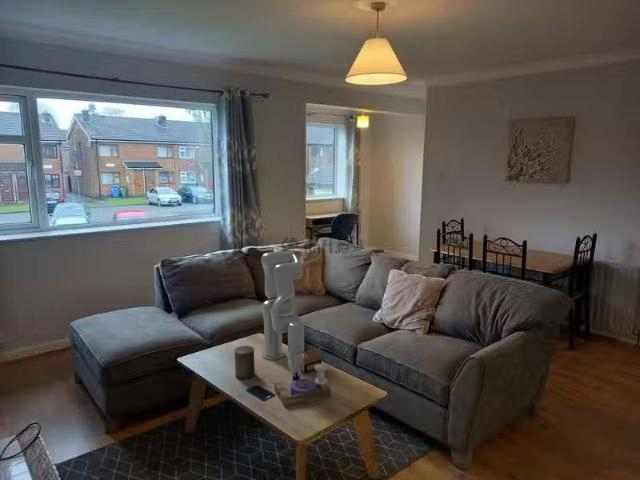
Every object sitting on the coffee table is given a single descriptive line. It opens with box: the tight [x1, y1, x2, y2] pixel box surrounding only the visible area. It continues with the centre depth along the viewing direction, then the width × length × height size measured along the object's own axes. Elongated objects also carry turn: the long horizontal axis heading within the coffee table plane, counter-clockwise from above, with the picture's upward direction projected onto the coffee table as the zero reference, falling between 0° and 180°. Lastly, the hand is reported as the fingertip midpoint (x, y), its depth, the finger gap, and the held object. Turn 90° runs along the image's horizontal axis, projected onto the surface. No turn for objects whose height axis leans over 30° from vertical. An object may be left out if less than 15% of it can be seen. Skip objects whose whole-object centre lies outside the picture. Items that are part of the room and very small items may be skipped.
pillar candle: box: [233, 345, 256, 380], centre depth 231 cm, size 10×10×15 cm
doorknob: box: [314, 363, 328, 385], centre depth 216 cm, size 6×6×8 cm
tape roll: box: [290, 378, 317, 396], centre depth 213 cm, size 12×12×5 cm
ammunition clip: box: [302, 346, 322, 375], centre depth 236 cm, size 11×2×12 cm, turn 125°
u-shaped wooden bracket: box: [274, 375, 331, 408], centre depth 213 cm, size 14×22×4 cm, turn 112°
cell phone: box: [245, 384, 276, 402], centre depth 215 cm, size 7×14×1 cm, turn 45°
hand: (296, 383), depth 221 cm, fingers closed
